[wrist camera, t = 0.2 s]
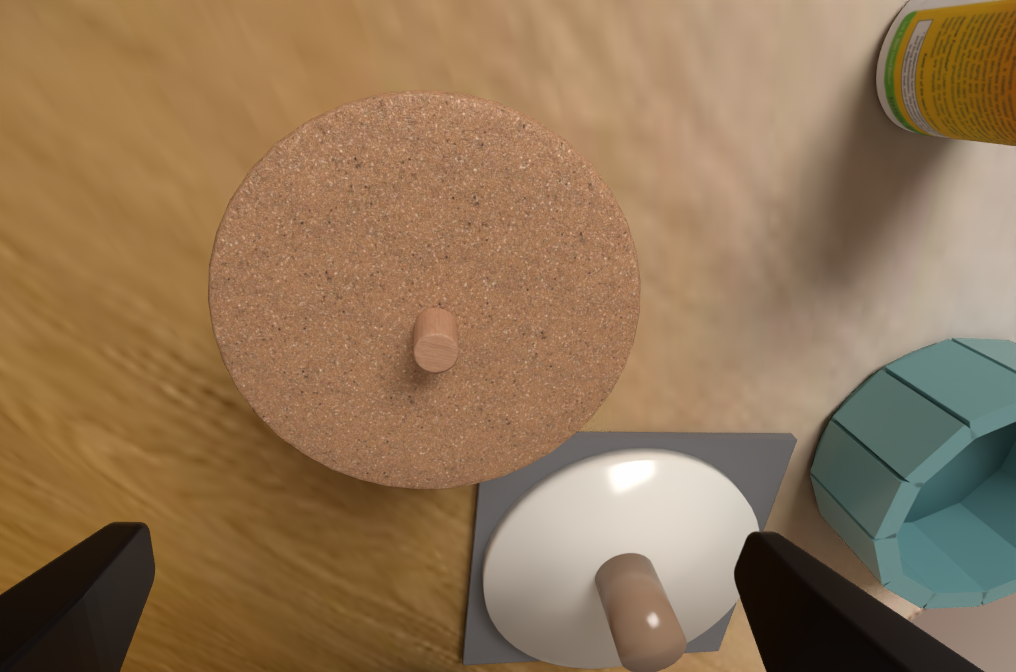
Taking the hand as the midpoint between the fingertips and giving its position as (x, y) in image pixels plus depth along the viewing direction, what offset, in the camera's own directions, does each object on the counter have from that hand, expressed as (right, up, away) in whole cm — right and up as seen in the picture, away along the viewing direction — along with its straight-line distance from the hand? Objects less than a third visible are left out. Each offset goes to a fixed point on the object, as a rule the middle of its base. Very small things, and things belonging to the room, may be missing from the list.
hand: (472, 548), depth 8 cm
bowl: (+22, -2, +20) cm, 30 cm away
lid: (+6, -8, +20) cm, 23 cm away
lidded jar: (-2, +7, +13) cm, 15 cm away
